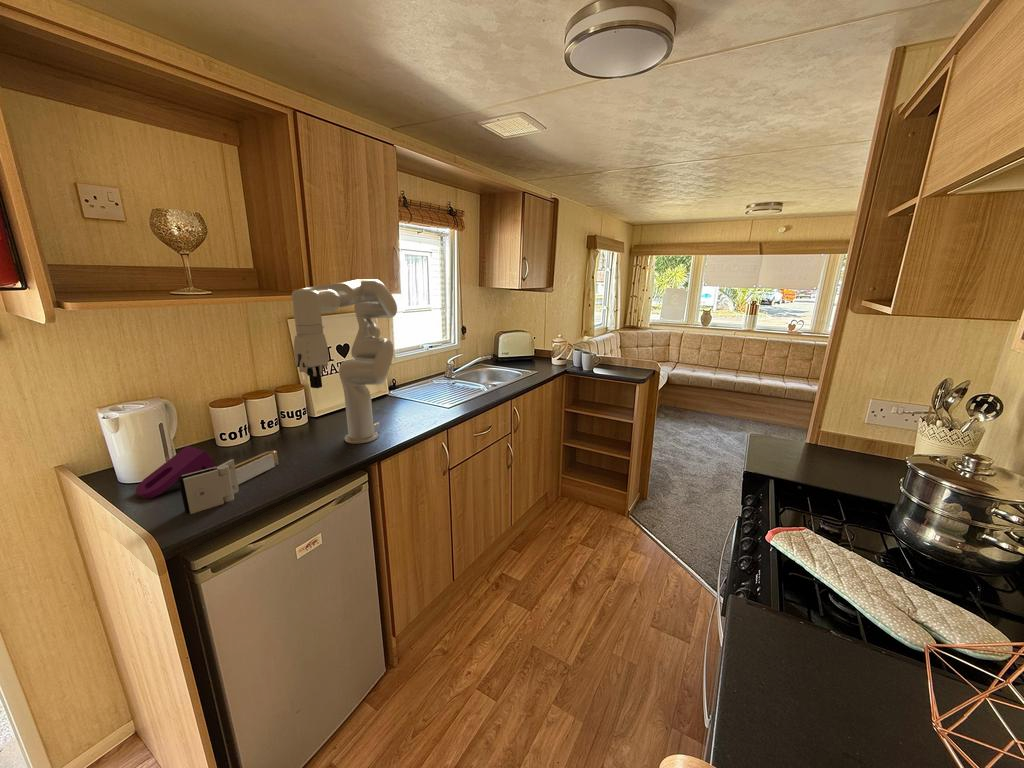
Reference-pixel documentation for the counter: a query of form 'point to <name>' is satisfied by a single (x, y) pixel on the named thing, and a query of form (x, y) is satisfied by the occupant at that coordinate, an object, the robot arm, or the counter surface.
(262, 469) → the open leaf
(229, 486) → the hinge
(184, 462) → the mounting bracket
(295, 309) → the robot arm
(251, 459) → the fixed leaf
